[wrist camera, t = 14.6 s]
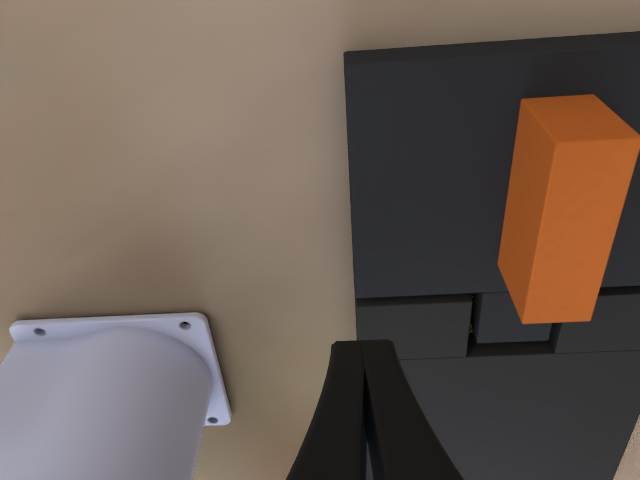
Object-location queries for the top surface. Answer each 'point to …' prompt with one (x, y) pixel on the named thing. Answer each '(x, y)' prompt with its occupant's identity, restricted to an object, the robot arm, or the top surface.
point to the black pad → (518, 385)
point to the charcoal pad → (497, 176)
